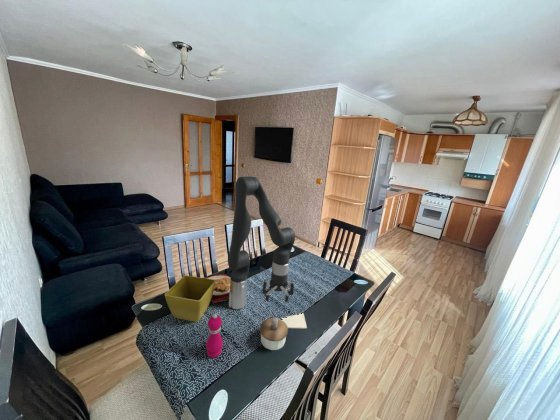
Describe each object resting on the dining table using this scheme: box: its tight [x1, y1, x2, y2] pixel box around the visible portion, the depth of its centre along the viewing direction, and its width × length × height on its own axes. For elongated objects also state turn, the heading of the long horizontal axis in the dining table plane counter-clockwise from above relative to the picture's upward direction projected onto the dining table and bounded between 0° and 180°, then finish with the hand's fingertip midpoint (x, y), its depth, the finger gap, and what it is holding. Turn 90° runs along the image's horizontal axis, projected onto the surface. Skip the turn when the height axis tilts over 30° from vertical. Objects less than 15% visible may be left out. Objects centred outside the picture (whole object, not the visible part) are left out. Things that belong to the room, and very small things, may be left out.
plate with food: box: [205, 273, 230, 304], centre depth 142 cm, size 24×26×4 cm
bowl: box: [260, 334, 287, 351], centre depth 110 cm, size 12×12×6 cm
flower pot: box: [164, 275, 215, 323], centre depth 121 cm, size 19×19×17 cm
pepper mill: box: [205, 313, 224, 358], centre depth 99 cm, size 7×7×20 cm
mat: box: [281, 312, 308, 330], centre depth 126 cm, size 15×15×1 cm
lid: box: [259, 316, 289, 341], centre depth 109 cm, size 14×14×6 cm
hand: (276, 301), depth 105 cm, fingers open, 8 cm apart
